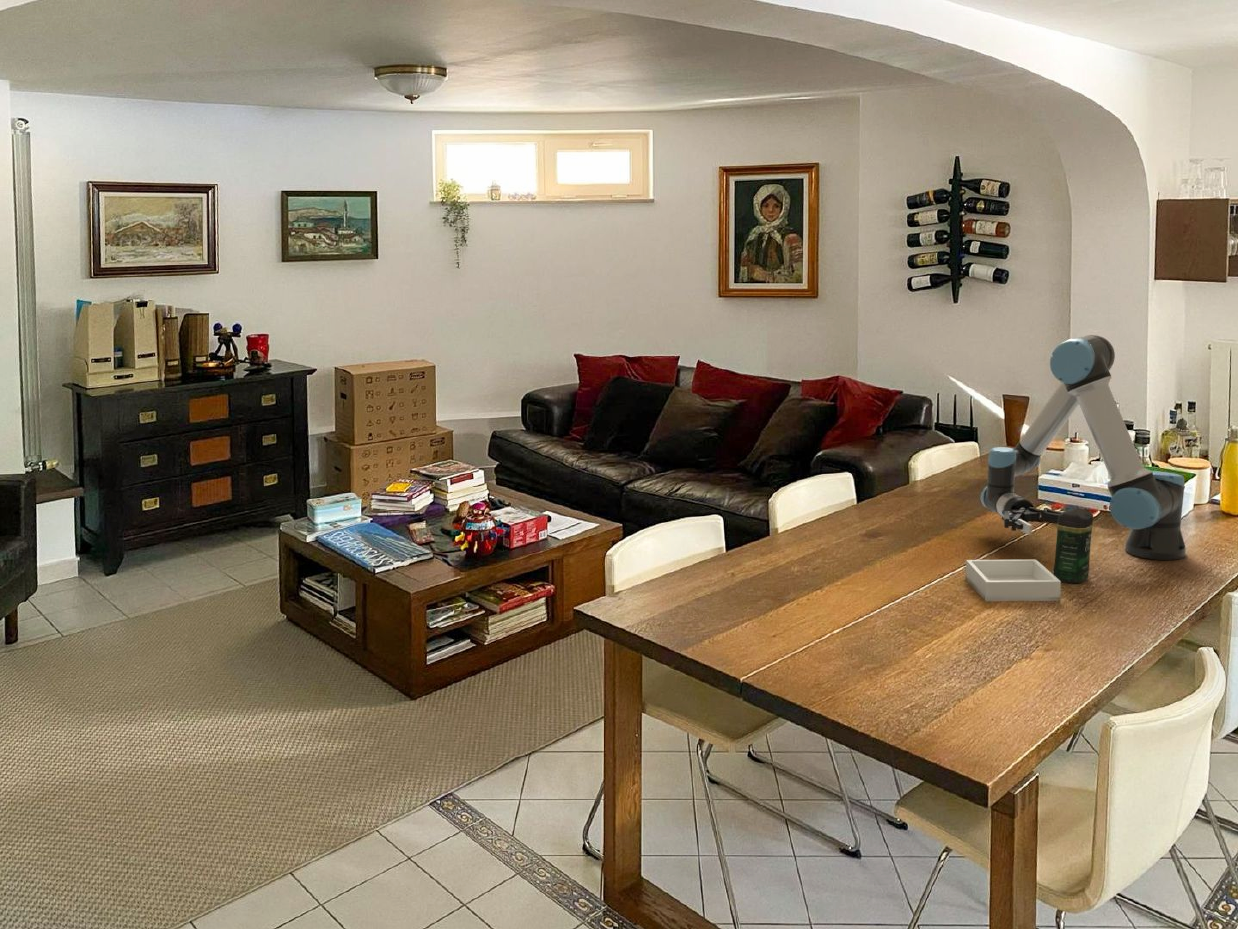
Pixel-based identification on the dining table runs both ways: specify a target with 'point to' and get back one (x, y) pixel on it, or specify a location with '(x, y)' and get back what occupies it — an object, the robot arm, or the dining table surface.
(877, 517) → the dining table surface
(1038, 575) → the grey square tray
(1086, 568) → the coffee jar
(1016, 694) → the dining table surface
